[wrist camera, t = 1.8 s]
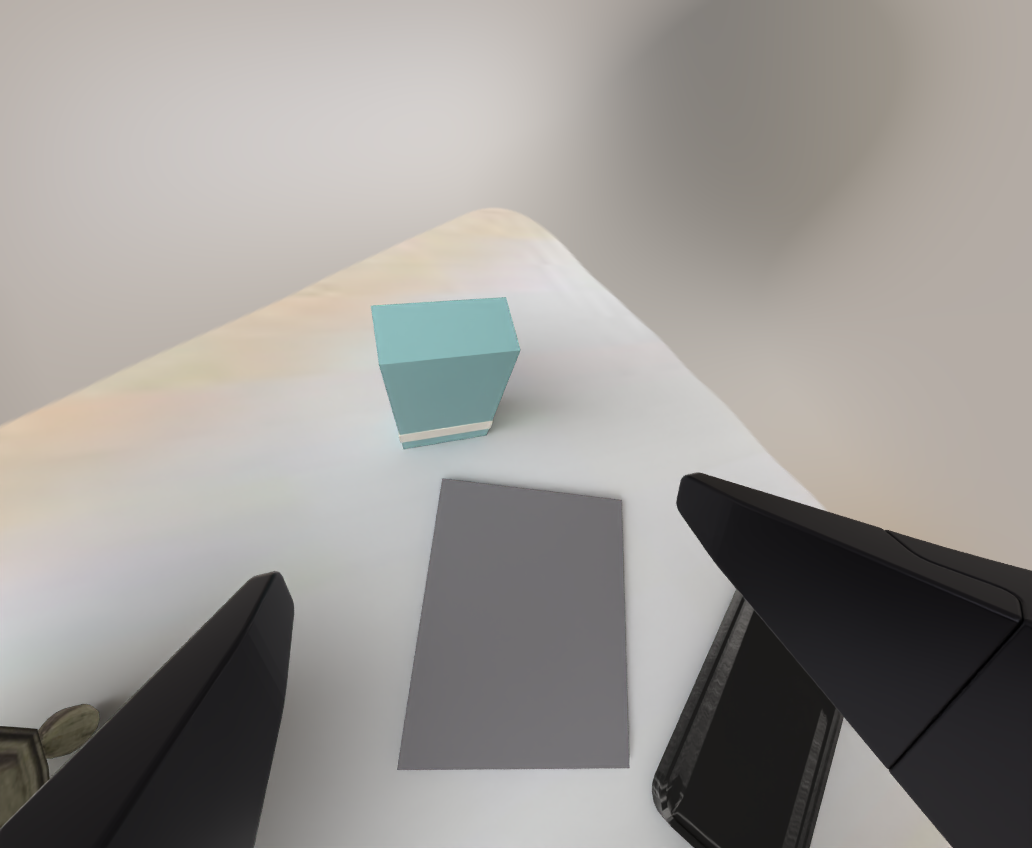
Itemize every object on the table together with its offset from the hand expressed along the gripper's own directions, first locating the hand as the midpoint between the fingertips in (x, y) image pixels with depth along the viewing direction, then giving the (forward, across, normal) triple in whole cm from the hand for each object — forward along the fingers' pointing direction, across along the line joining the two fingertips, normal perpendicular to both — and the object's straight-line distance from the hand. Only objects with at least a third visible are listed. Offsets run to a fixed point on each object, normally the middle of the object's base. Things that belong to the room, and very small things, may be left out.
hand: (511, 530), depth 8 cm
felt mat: (+7, -2, +12) cm, 14 cm away
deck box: (+15, 0, +4) cm, 15 cm away
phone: (+1, -14, +18) cm, 23 cm away
